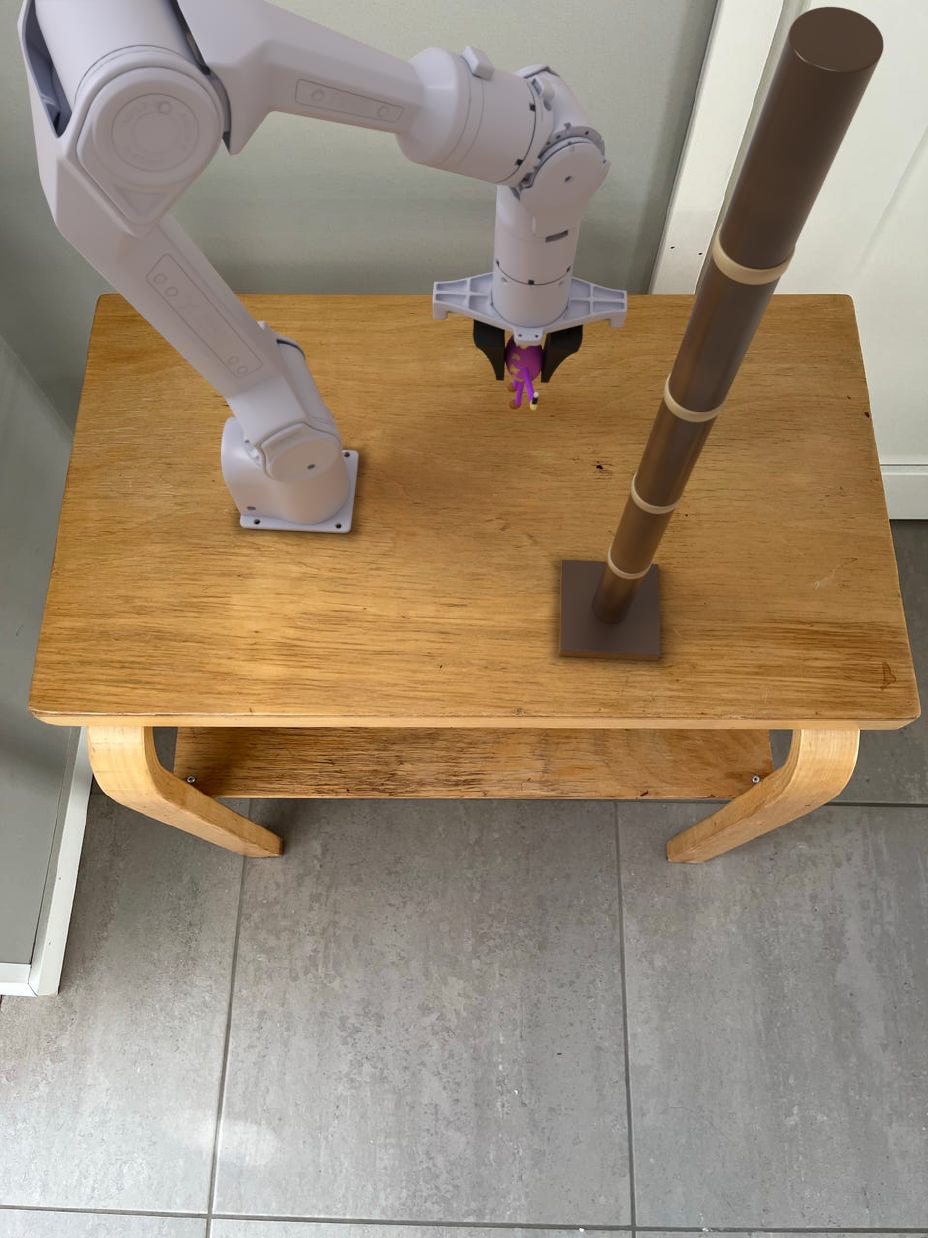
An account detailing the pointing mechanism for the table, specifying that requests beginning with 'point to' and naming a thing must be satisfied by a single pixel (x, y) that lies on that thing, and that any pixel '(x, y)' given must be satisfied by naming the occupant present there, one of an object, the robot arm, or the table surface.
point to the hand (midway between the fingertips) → (522, 371)
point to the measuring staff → (724, 321)
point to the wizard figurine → (523, 370)
